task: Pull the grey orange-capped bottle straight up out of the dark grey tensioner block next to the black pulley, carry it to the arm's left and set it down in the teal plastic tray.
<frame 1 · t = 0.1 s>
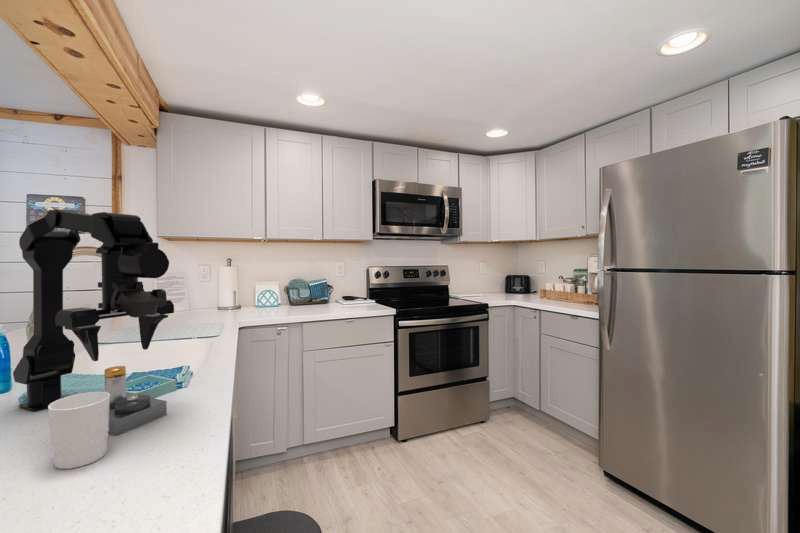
hand: (121, 354, 73), 14 cm above the worktop, tool pointing down, fingers open, 9 cm apart
white cup: (81, 459, 62), on the worktop
grey orange-capped bottle: (116, 417, 78), resting in tensioner block
tensioner block: (123, 419, 77), on the worktop
tray: (143, 393, 91), on the worktop
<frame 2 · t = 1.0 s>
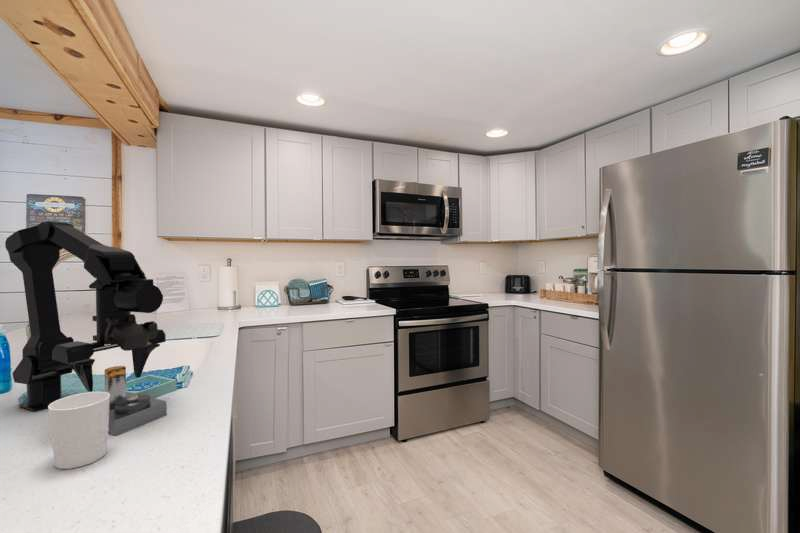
hand: (115, 383, 77), 7 cm above the worktop, tool pointing down, fingers open, 9 cm apart
nothing on the worktop moved.
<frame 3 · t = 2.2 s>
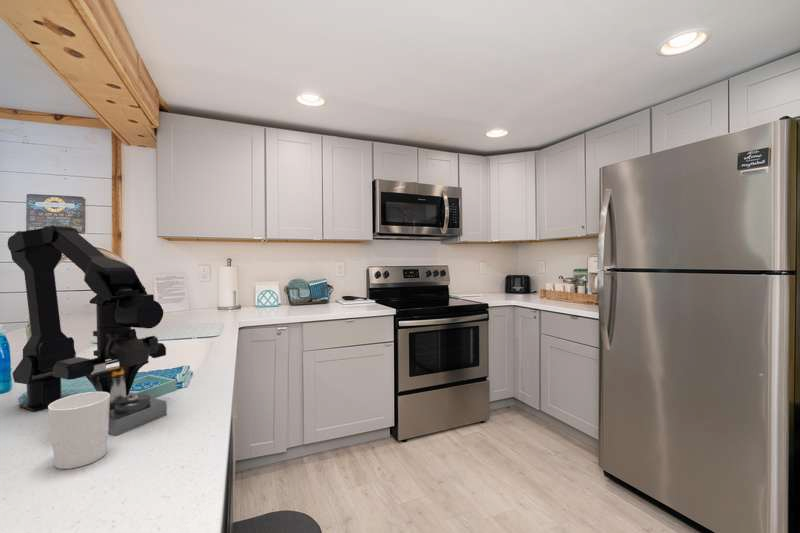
hand: (115, 398, 78), 4 cm above the worktop, tool pointing down, fingers closed on grey orange-capped bottle, 3 cm apart
grey orange-capped bottle: (116, 417, 78), resting in tensioner block, touching gripper
everything else where it was.
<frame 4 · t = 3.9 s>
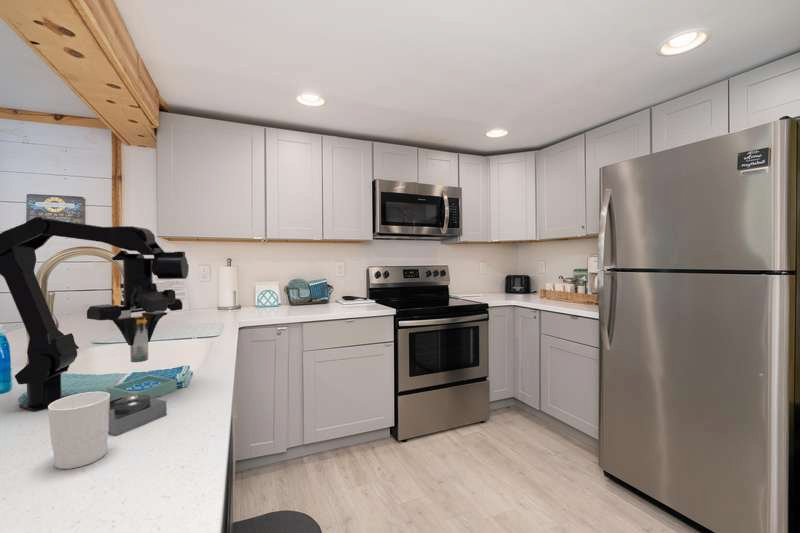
hand: (139, 343, 89), 13 cm above the worktop, tool pointing down, fingers closed on grey orange-capped bottle, 3 cm apart
grey orange-capped bottle: (139, 360, 89), point 9 cm above the worktop, touching gripper
everything else where it was.
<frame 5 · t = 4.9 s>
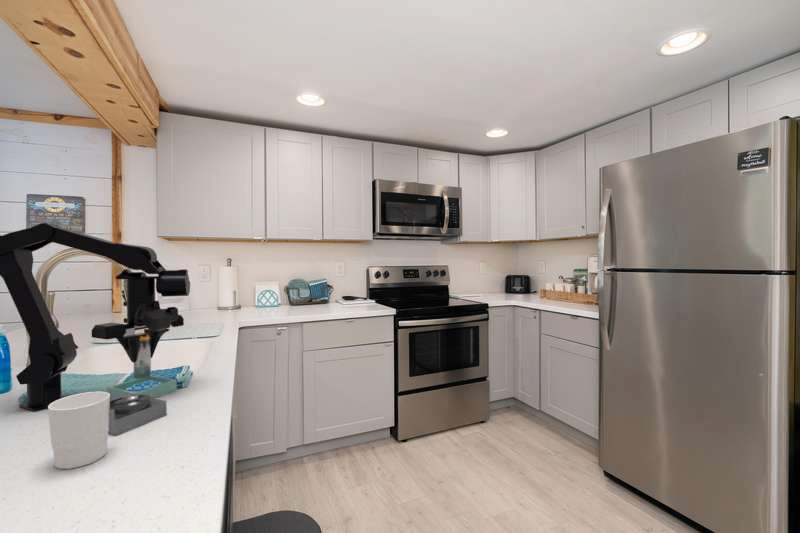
hand: (142, 360, 91), 8 cm above the worktop, tool pointing down, fingers closed on grey orange-capped bottle, 3 cm apart
grey orange-capped bottle: (142, 376, 91), point 4 cm above the worktop, touching gripper
everything else where it was.
when the fingers open (5 cm above the worktop, at t = 5.7 s): grey orange-capped bottle stays where it is, resting on tray.
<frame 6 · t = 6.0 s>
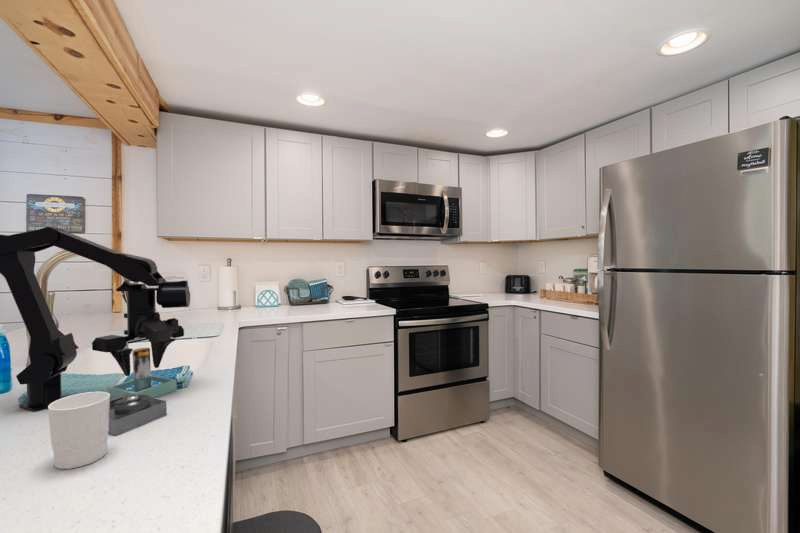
hand: (142, 371, 91), 5 cm above the worktop, tool pointing down, fingers open, 7 cm apart
grey orange-capped bottle: (143, 391, 91), point 1 cm above the worktop, touching tray
everything else where it was.
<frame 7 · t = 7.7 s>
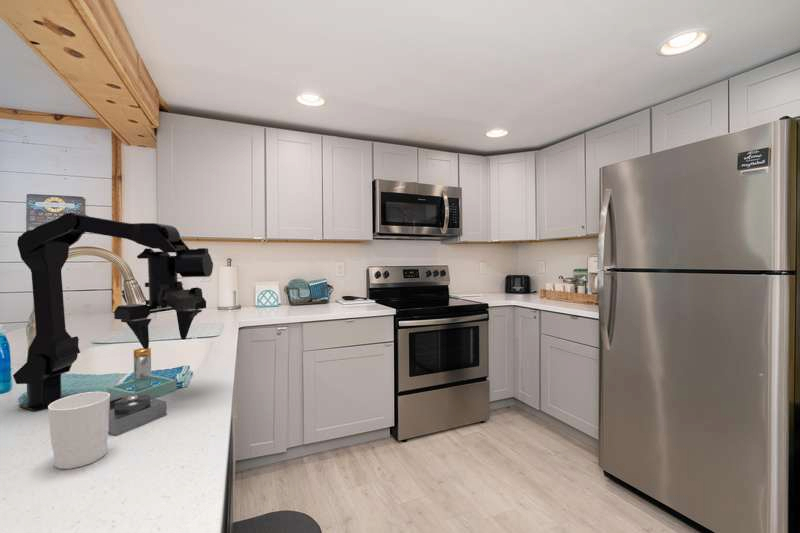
hand: (165, 343, 87), 13 cm above the worktop, tool pointing down, fingers open, 9 cm apart
nothing on the worktop moved.
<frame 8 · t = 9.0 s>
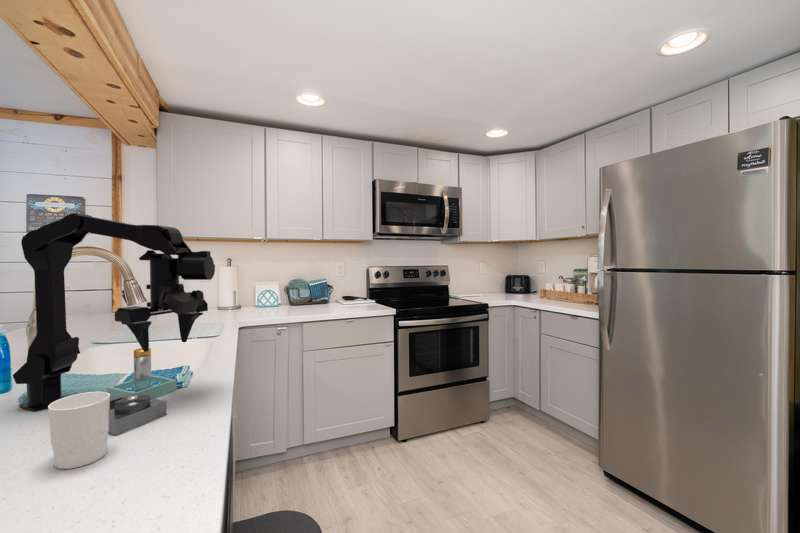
hand: (165, 346, 86), 13 cm above the worktop, tool pointing down, fingers open, 9 cm apart
nothing on the worktop moved.
at the end: grey orange-capped bottle inside the target area on the tray (0.0 cm from its centre), point 0.5 cm above the tray's base; the gripper is holding nothing; grey orange-capped bottle touching tray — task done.
